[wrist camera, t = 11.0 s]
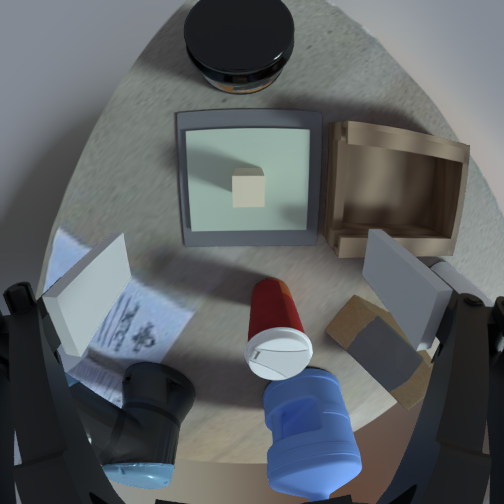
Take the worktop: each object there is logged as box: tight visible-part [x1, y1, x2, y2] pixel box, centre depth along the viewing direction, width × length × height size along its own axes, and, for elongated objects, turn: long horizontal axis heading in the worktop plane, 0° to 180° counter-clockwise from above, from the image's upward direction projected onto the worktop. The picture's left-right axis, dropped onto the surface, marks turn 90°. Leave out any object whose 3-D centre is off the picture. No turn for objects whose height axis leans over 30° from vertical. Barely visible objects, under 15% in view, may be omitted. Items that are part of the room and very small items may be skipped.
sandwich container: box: [325, 295, 434, 411], centre depth 39 cm, size 9×15×15 cm, turn 60°
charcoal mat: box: [177, 109, 322, 247], centre depth 35 cm, size 18×18×1 cm
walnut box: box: [323, 121, 470, 258], centre depth 32 cm, size 18×15×7 cm
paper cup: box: [244, 278, 313, 380], centre depth 36 cm, size 8×8×14 cm
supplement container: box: [184, 0, 294, 95], centre depth 23 cm, size 10×10×12 cm
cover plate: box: [186, 128, 310, 231], centre depth 31 cm, size 15×13×8 cm
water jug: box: [263, 368, 362, 502], centre depth 39 cm, size 16×16×28 cm
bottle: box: [430, 262, 504, 352], centre depth 28 cm, size 8×8×30 cm
